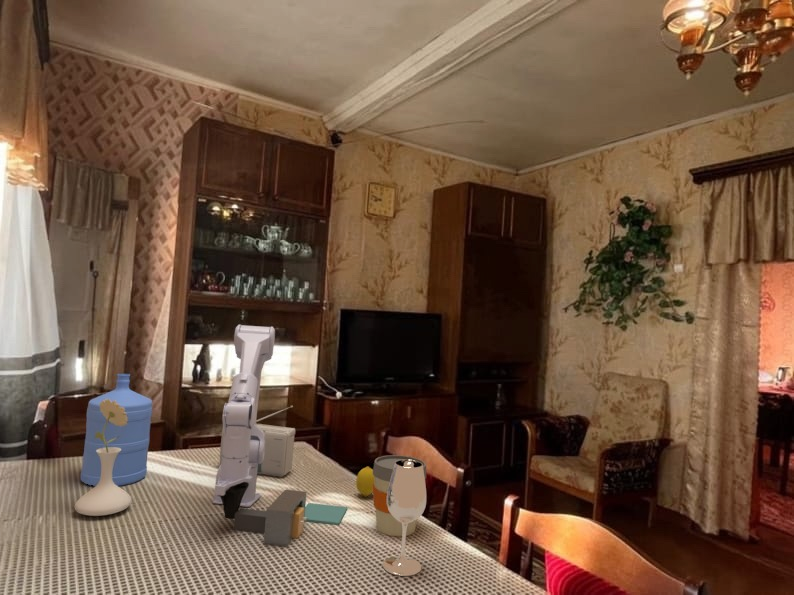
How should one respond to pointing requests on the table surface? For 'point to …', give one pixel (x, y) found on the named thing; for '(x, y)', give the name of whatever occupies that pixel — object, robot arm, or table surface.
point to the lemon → (365, 481)
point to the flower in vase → (106, 472)
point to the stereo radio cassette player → (274, 449)
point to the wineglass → (405, 509)
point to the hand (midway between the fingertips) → (230, 517)
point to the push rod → (250, 520)
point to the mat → (324, 513)
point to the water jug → (130, 440)
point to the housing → (282, 517)
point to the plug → (298, 522)
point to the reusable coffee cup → (380, 489)
